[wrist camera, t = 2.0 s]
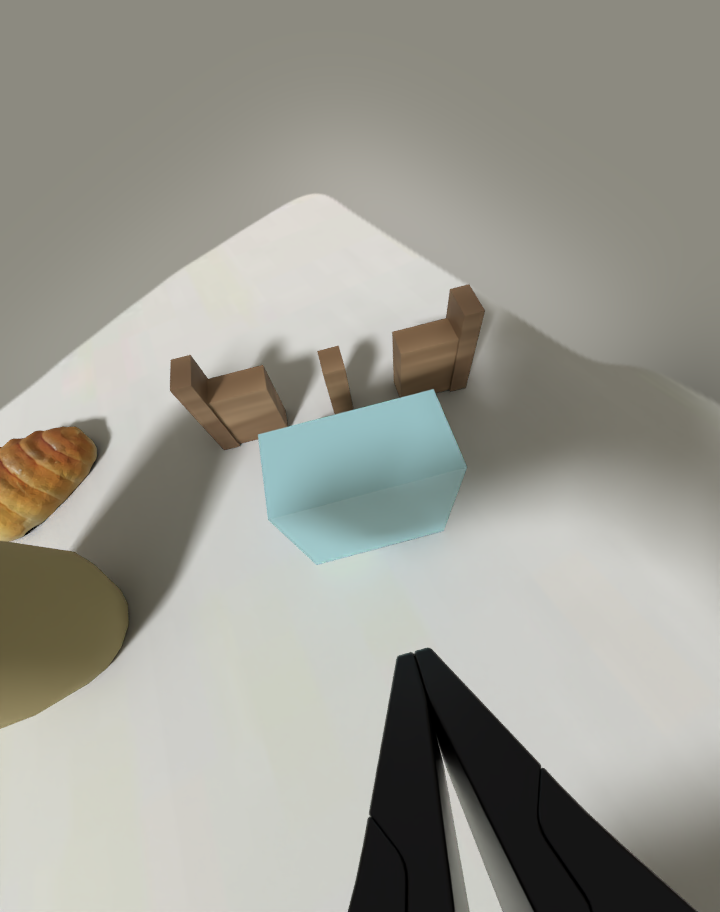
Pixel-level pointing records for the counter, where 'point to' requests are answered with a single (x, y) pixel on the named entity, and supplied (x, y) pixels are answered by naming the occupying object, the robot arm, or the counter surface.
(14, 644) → the squeeze bottle
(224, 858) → the counter surface
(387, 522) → the pale blue brick
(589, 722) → the counter surface
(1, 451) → the pastry
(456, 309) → the rail
